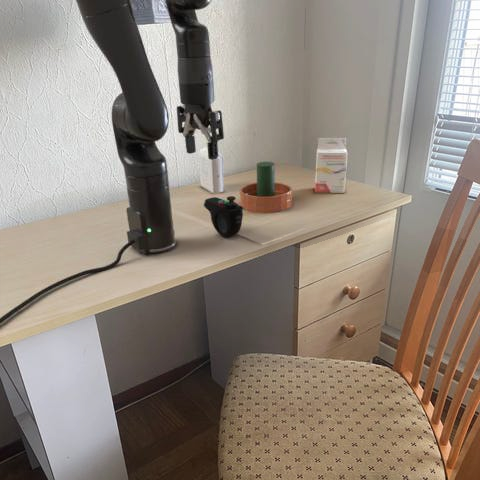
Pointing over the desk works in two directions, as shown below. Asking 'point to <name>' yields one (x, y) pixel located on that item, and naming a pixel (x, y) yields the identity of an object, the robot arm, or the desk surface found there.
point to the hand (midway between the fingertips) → (202, 155)
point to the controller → (225, 215)
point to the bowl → (266, 198)
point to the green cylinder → (265, 179)
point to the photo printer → (211, 172)
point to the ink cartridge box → (331, 165)
